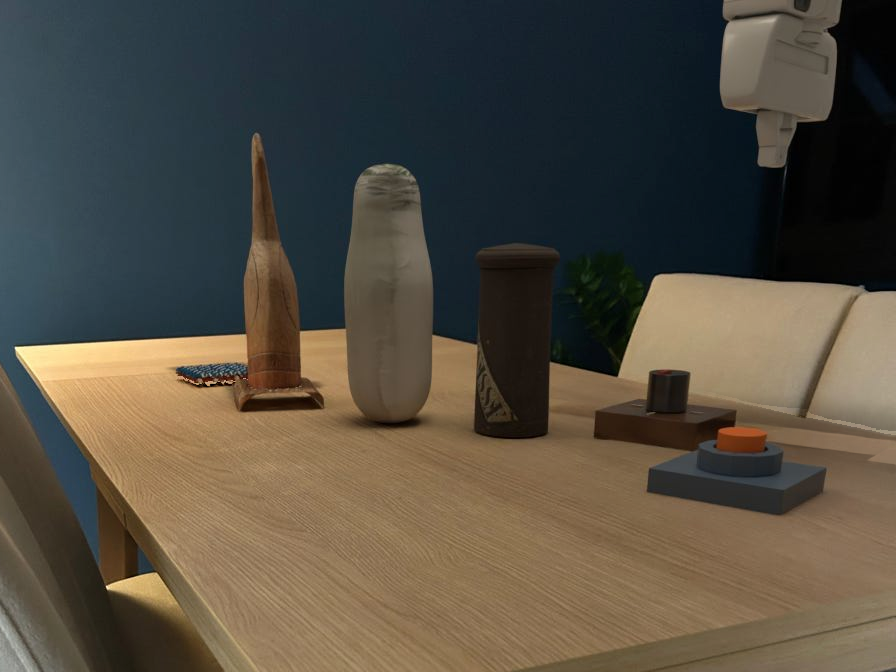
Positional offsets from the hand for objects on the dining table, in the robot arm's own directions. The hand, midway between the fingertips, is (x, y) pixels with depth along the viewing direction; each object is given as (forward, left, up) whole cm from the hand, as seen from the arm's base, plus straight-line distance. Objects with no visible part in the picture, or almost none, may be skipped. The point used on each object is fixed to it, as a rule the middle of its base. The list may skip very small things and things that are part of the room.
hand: (771, 166), depth 98 cm
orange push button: (-10, +24, -23) cm, 35 cm away
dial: (+6, +6, -24) cm, 25 cm away
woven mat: (+78, +10, -27) cm, 83 cm away
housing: (-10, +24, -27) cm, 38 cm away
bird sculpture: (+56, +18, -27) cm, 65 cm away
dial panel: (+6, +6, -27) cm, 28 cm away
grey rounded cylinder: (+36, +18, -27) cm, 49 cm away
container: (+21, +14, -27) cm, 37 cm away
